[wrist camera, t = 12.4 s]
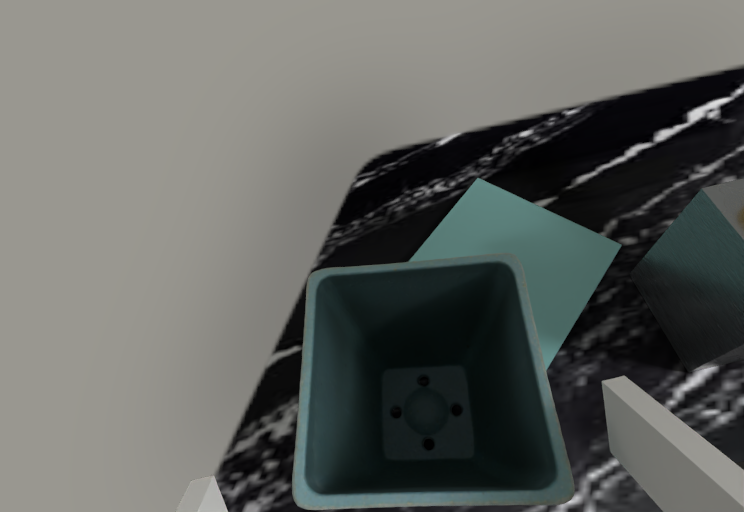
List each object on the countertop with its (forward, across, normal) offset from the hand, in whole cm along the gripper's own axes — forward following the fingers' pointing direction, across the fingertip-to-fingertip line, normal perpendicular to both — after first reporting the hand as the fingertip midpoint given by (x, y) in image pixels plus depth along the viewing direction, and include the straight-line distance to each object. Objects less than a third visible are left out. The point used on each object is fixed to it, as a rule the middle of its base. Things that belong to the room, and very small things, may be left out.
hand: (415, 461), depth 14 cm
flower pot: (+8, +1, -4) cm, 9 cm away
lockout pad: (+13, +8, +1) cm, 15 cm away
